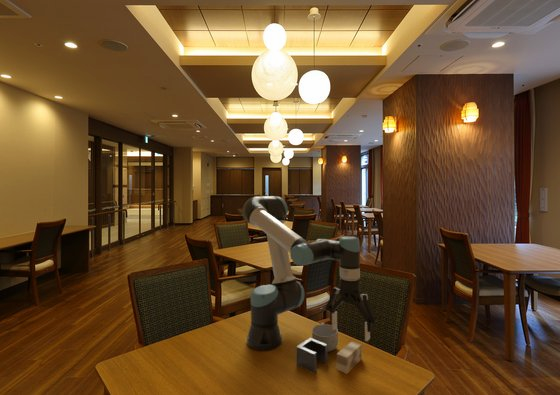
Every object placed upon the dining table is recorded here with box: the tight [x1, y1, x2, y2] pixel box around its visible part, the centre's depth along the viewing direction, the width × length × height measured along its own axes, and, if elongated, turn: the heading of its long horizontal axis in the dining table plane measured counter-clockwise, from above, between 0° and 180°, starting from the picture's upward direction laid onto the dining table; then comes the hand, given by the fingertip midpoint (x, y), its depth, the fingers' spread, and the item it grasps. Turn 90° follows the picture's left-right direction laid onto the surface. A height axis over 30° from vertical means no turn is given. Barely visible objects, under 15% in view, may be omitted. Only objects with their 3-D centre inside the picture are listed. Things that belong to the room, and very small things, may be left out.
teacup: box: [311, 322, 339, 353], centre depth 125 cm, size 14×11×8 cm
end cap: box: [295, 337, 328, 374], centre depth 113 cm, size 8×9×7 cm
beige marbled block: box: [336, 340, 362, 375], centre depth 112 cm, size 12×4×6 cm, turn 139°
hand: (350, 334), depth 112 cm, fingers open, 13 cm apart
